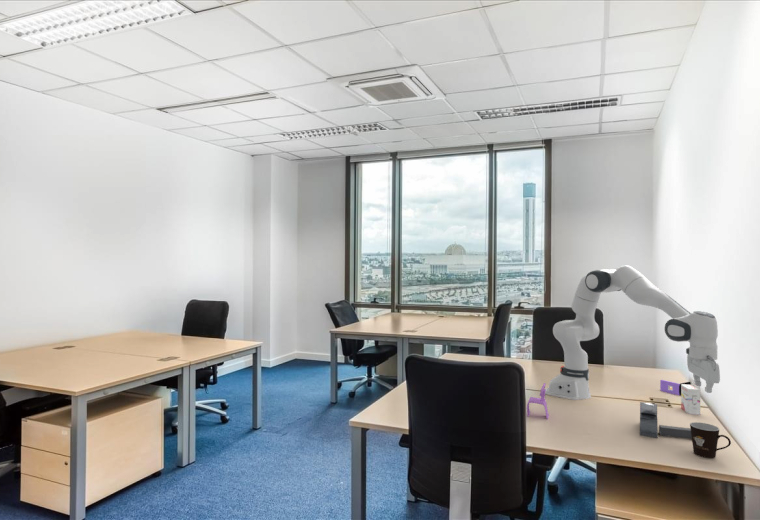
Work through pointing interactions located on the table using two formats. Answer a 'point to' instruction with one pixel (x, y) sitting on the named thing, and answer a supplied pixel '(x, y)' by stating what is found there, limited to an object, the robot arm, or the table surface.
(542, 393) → the toy chair
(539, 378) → the table surface
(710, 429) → the coffee mug
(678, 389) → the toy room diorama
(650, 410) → the housing
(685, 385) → the ink cartridge box
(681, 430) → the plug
